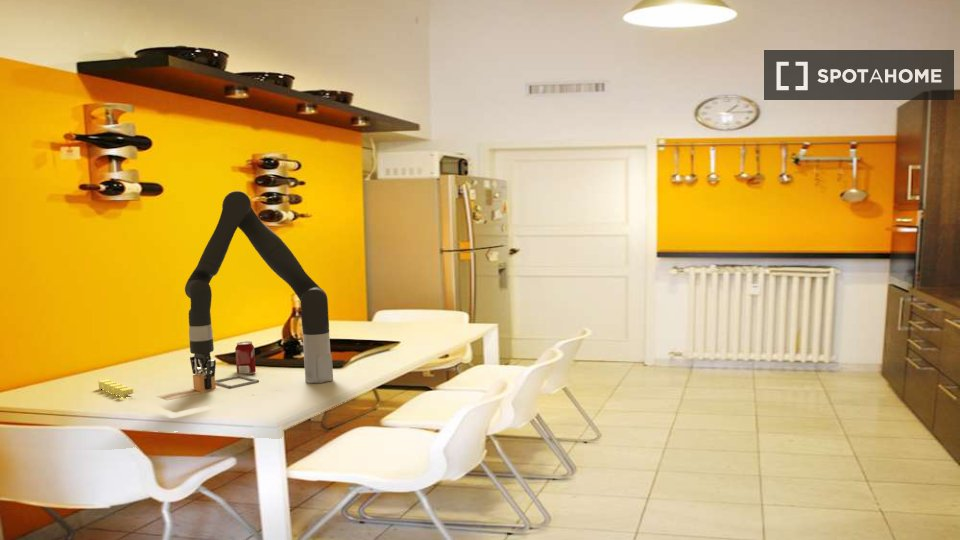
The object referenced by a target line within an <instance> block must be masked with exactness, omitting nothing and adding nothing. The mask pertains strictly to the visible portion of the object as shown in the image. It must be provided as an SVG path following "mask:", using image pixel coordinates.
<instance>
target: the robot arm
mask: <svg viewBox="0 0 960 540" xmlns="http://www.w3.org/2000/svg"><path fill="white" fill-rule="evenodd" d="M221 205H222V207H221V208H222V209H221V213H220V217H219V219H218V221H217V224H216V226H215V229H214V231H213V233H212V234H211V236H210V238H209V240H208V241H207V244H206V246H205V248H204V250H203V252H202V254H201V255H200V258H199V260H198V263H197V265H196V267H195V268H194V270H193V271H192V273H191V275H190V276H189V278H188V279H187V281H186V284H185V286H184V292H185V295H186V296H187V297H188V298H189V300H190V309H189V310H188V327H189V328H188V339H189V340H188V341H189V353H190V354H193V356H190V357H189V360H190V366H191V370H192V375H196V374H201V373H203V376H204V385H205V389H206V390H208V389H211V388H212V384H211V378H212V377H213V376H215V375H216V363H217V361H216V359H212V357H211V353H212V352H214V350H215V348H214V334H213V328H212V326H213V325H212V316H211V315H212V313H211V307H212V297H213V296H212V295H213V294H212V288H211V285H210V283H211V281H212V279H213V277H214V276H217V274H218V273H219V270H220V269H221V267H222V264H223V262H224V260H225V258H226V255H227V253H228V250H229V247H230V246H231V245H230V244H231V242H232V240H233V237H234V235H235V233H236V231H237V230H238V229H239V230H241V232H242V233H243V234H244V235H245V237H246V238H247V239H248V241H249V242H250V243H251V245H252V247H253V248H254V249H255V251H256V252H257V253H258V255H259V256H260V257H261V258H262V260H263V261H264V262H265V263H266V265H267V266H268V267H269V268H270V269H271V270H272V271H273V272H274V273H275V274H276V275H277V276H278V277H279V278H281V279H282V281H284V282H285V283H286V284H287V285H288V286H289V287H290V288H291V289H292V291H293V292H294V293H295V295H296V297H297V298H298V300H299V301H300V313H301V314H300V315H301V327H302V328H301V329H302V341H303V342H302V343H303V344H302V345H303V346H302V347H303V361H304V362H303V364H304V379H305V382H306V383H309V384H322V383H326V382H327V383H328V382H331V381H334V371H333V354H331V341H330V319H329V318H330V317H329V301H328V295H327V293H326V292H325V290H324V289H323V288H321V286H319V285H318V284H317V283H316V282H315V281H314V280H313V279H312V278H311V277H310V276H309V274H307V272H306V271H305V269H304V268H303V266H302V265H301V263H300V261H299V260H298V259H297V257H296V256H295V255H294V253H293V252H292V251H291V249H290V248H289V247H288V246H287V244H286V243H285V242H284V241H283V240H282V239H281V238H280V236H278V235H277V234H276V232H274V231H273V230H272V229H271V228H269V227H268V226H267V225H266V224H265V223H264V222H263V221H262V220H261V219H260V218H259V216H258V214H257V213H256V211H255V210H254V209H253V207H252V202H251V198H250V197H249V195H248V194H247V193H245V192H244V191H241V190H234V191H230V192H229V193H228V194H226V195H225V196H224V199H223V201H222V203H221ZM215 377H216V376H215Z"/></svg>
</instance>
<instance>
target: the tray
mask: <svg viewBox="0 0 960 540" xmlns="http://www.w3.org/2000/svg"><path fill="white" fill-rule="evenodd" d="M237 379H243V380H247V382H241V383H237V384H232V385H231V384H227V383H226V384H225V383H222V382H224V381H230V380H237ZM259 382H260V380H259V379H257V378H253V377H249V376H246V375H242V374H238V375H235V376H228V377H225V378H224V377H223V378H220V379H215V386H220V387H223V388H226V389H233V388H238V387H244V386H247V385H253V384H257V383H259Z"/></svg>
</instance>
